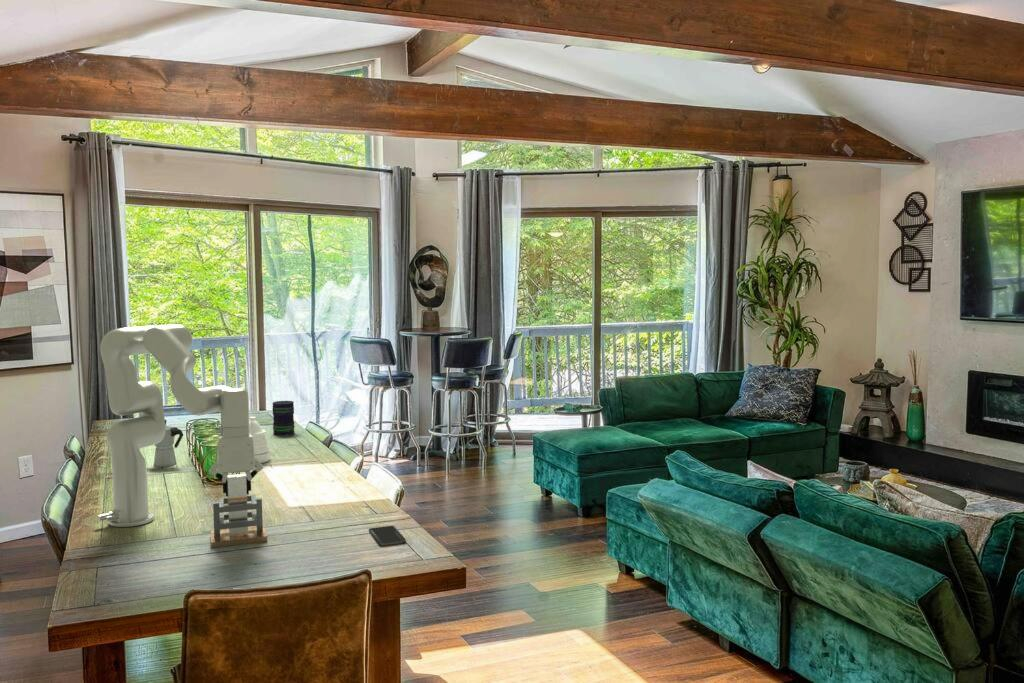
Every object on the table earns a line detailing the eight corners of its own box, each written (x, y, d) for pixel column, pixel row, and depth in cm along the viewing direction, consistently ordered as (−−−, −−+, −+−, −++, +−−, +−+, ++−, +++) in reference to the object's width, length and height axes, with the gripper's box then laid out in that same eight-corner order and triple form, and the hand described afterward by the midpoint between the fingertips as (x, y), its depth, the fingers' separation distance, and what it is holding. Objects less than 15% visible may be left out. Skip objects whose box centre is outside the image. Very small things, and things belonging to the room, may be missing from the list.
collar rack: (211, 547, 227) (209, 508, 226) (211, 535, 237) (209, 498, 236) (267, 541, 232) (266, 503, 231) (264, 529, 242) (263, 493, 241)
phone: (379, 544, 227) (367, 528, 241) (379, 548, 227) (368, 532, 241) (407, 540, 230) (394, 525, 244) (407, 544, 230) (394, 528, 244)
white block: (229, 534, 231) (227, 479, 230) (228, 529, 236) (226, 475, 234) (248, 532, 233) (246, 477, 231) (247, 527, 238) (245, 473, 236)
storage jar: (272, 432, 389) (272, 401, 388) (294, 430, 392) (293, 400, 391) (273, 436, 380) (272, 404, 378) (295, 434, 383) (294, 403, 381)
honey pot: (271, 462, 328) (270, 418, 327) (237, 465, 323) (236, 420, 322) (268, 455, 340) (267, 412, 339) (236, 458, 335) (234, 415, 334)
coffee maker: (143, 466, 322) (142, 421, 321) (158, 461, 331) (156, 417, 329) (176, 468, 319) (175, 422, 317) (190, 462, 327) (189, 418, 326)
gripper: (203, 436, 225) (205, 500, 227) (267, 432, 231) (269, 494, 233) (203, 431, 232) (205, 493, 234) (265, 427, 238) (267, 488, 240)
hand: (237, 493), depth 233 cm, fingers closed on white block, 4 cm apart
